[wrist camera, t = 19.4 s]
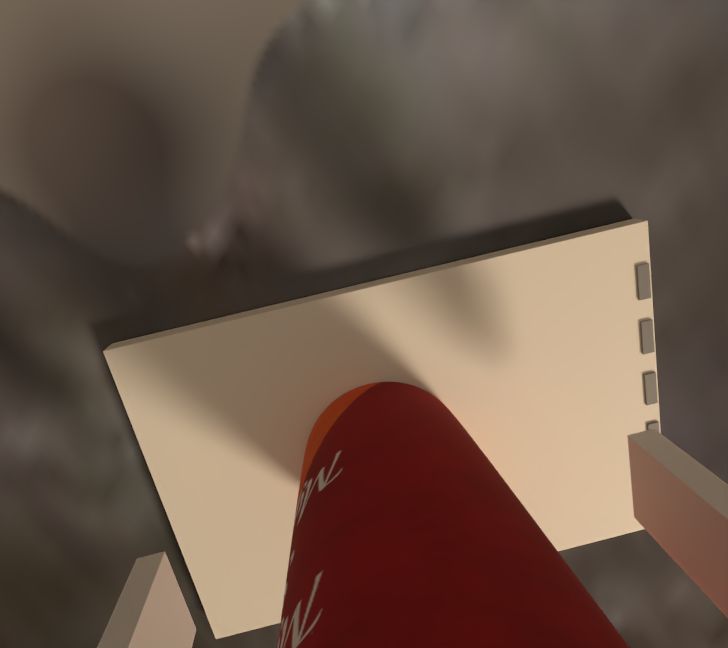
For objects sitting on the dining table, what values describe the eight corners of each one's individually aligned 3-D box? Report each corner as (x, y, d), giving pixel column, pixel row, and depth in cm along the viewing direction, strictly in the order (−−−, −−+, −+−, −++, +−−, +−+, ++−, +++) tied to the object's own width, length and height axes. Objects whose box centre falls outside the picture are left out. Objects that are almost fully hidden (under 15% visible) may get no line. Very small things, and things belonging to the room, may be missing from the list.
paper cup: (238, 399, 18) (15, 1112, 4) (454, 317, 18) (910, 782, 4) (323, 576, 20) (350, 1400, 7) (515, 505, 20) (934, 1190, 7)
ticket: (219, 622, 21) (215, 641, 20) (111, 343, 18) (101, 352, 17) (653, 510, 22) (667, 525, 21) (633, 218, 18) (649, 220, 17)
